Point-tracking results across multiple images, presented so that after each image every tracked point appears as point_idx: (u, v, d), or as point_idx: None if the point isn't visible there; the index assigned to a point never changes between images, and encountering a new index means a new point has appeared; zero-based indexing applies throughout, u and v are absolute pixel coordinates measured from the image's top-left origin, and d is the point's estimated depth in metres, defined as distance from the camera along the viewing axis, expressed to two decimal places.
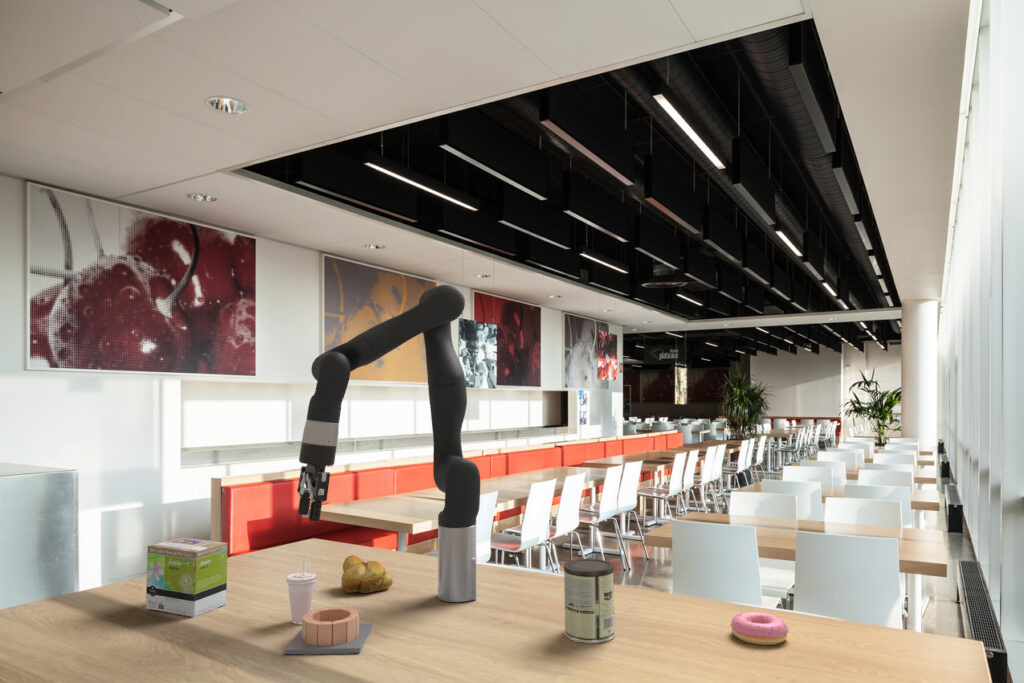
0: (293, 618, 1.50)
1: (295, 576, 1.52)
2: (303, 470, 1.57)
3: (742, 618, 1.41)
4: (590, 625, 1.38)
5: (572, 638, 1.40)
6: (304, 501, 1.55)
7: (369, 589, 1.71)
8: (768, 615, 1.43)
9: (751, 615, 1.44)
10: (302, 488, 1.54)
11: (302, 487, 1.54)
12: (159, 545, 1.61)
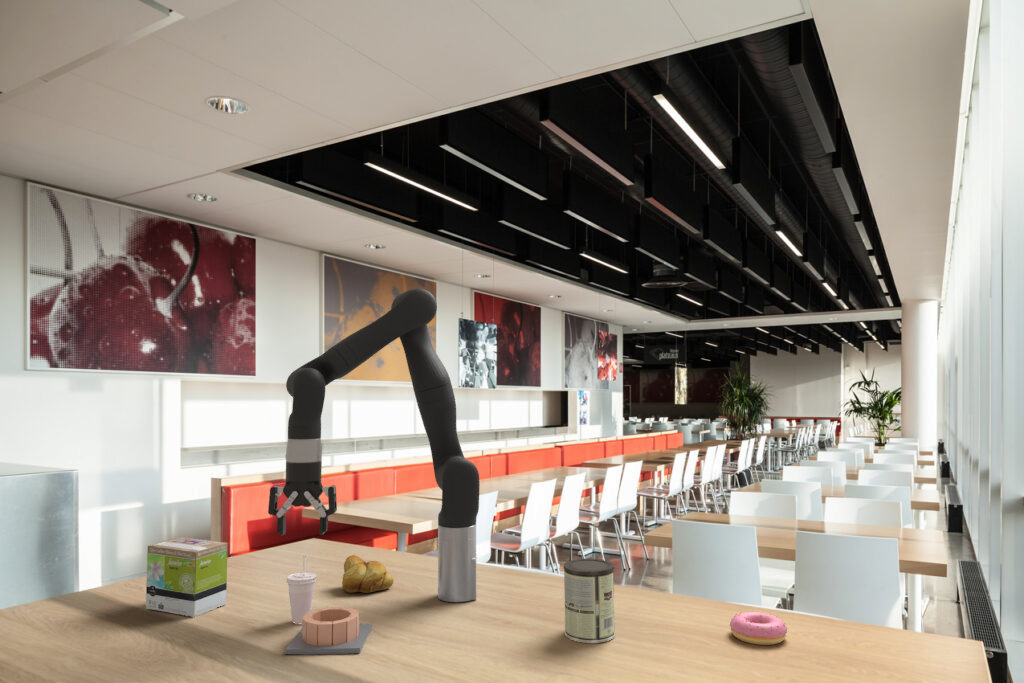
0: (293, 618, 1.50)
1: (295, 576, 1.52)
2: (275, 491, 1.52)
3: (741, 618, 1.42)
4: (590, 625, 1.38)
5: (572, 638, 1.40)
6: (284, 521, 1.53)
7: (369, 589, 1.71)
8: (767, 615, 1.43)
9: (750, 615, 1.44)
10: (287, 508, 1.52)
11: (288, 507, 1.52)
12: (159, 545, 1.61)
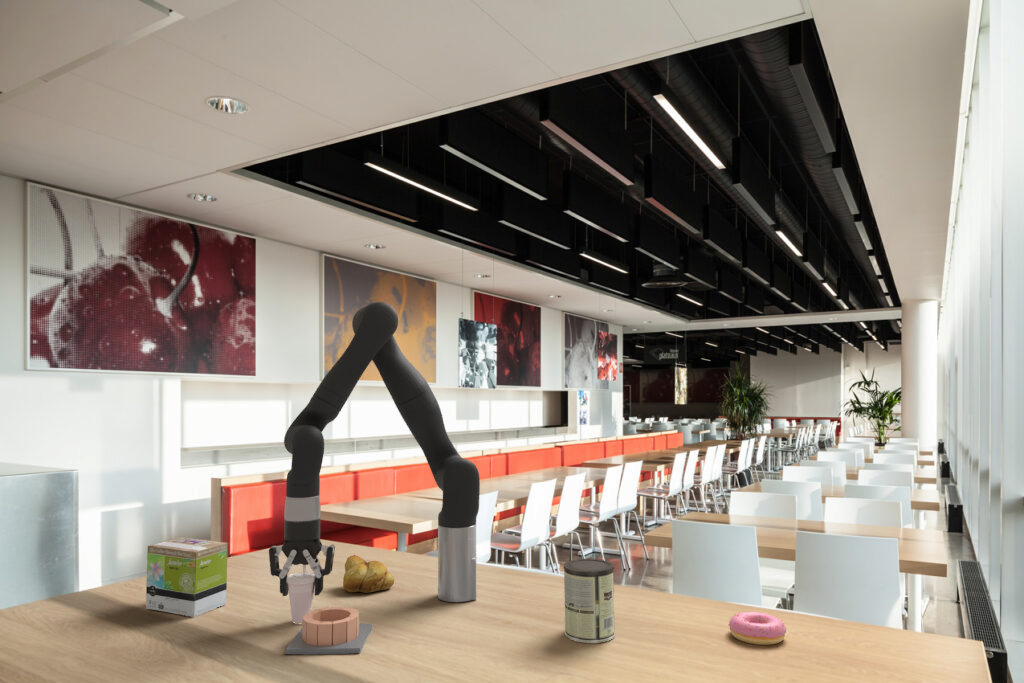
0: (293, 618, 1.50)
1: (295, 576, 1.52)
2: (274, 551, 1.51)
3: (740, 618, 1.42)
4: (590, 625, 1.38)
5: (572, 638, 1.40)
6: None
7: (370, 589, 1.72)
8: (766, 615, 1.43)
9: (749, 615, 1.44)
10: (289, 568, 1.51)
11: (289, 566, 1.51)
12: (159, 545, 1.61)
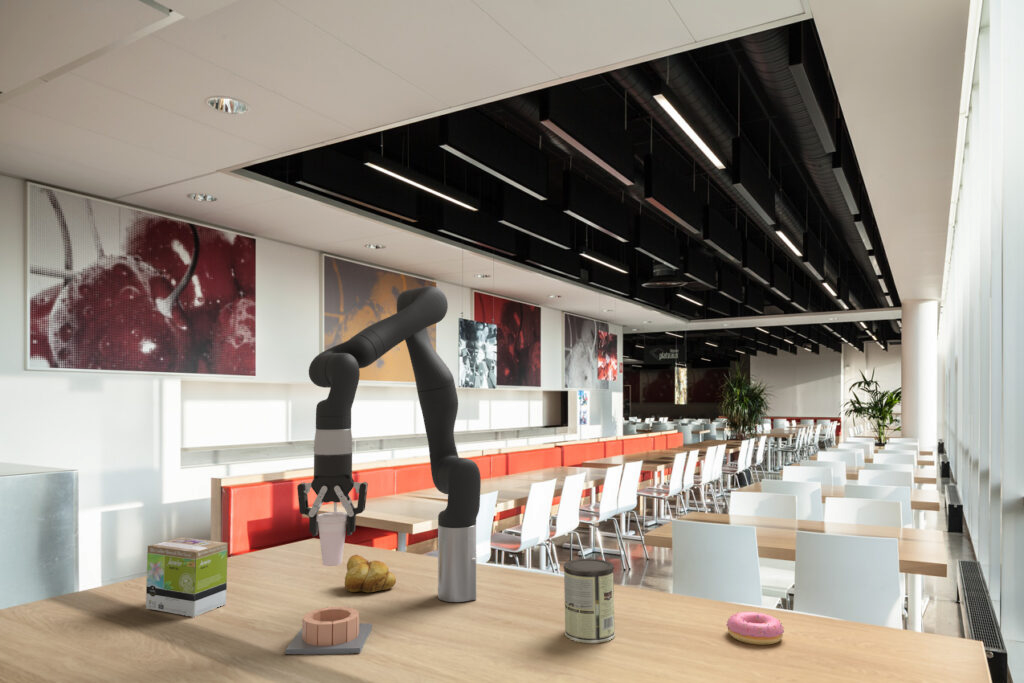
0: (324, 559, 1.40)
1: (325, 515, 1.41)
2: (303, 488, 1.41)
3: (738, 618, 1.42)
4: (590, 625, 1.38)
5: (572, 638, 1.40)
6: None
7: (371, 589, 1.72)
8: (764, 615, 1.43)
9: (747, 615, 1.44)
10: (319, 505, 1.40)
11: (319, 504, 1.40)
12: (159, 545, 1.61)
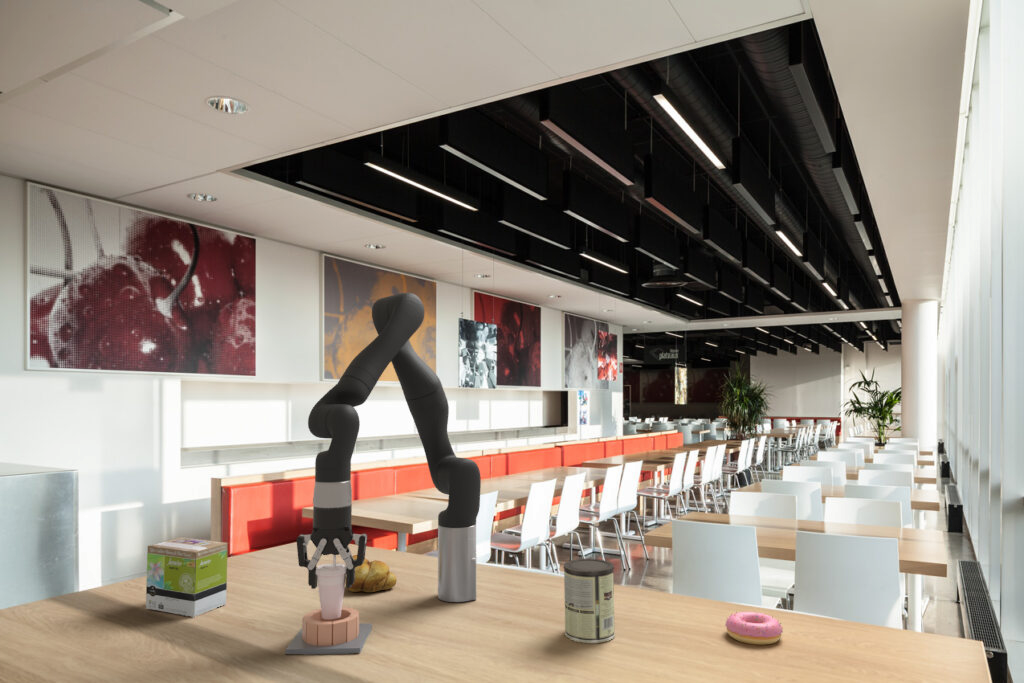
0: (323, 613, 1.39)
1: (325, 567, 1.41)
2: (302, 540, 1.40)
3: (737, 618, 1.42)
4: (590, 625, 1.38)
5: (572, 638, 1.40)
6: None
7: (372, 589, 1.72)
8: (763, 615, 1.44)
9: (746, 615, 1.44)
10: (318, 558, 1.40)
11: (319, 557, 1.40)
12: (159, 545, 1.61)
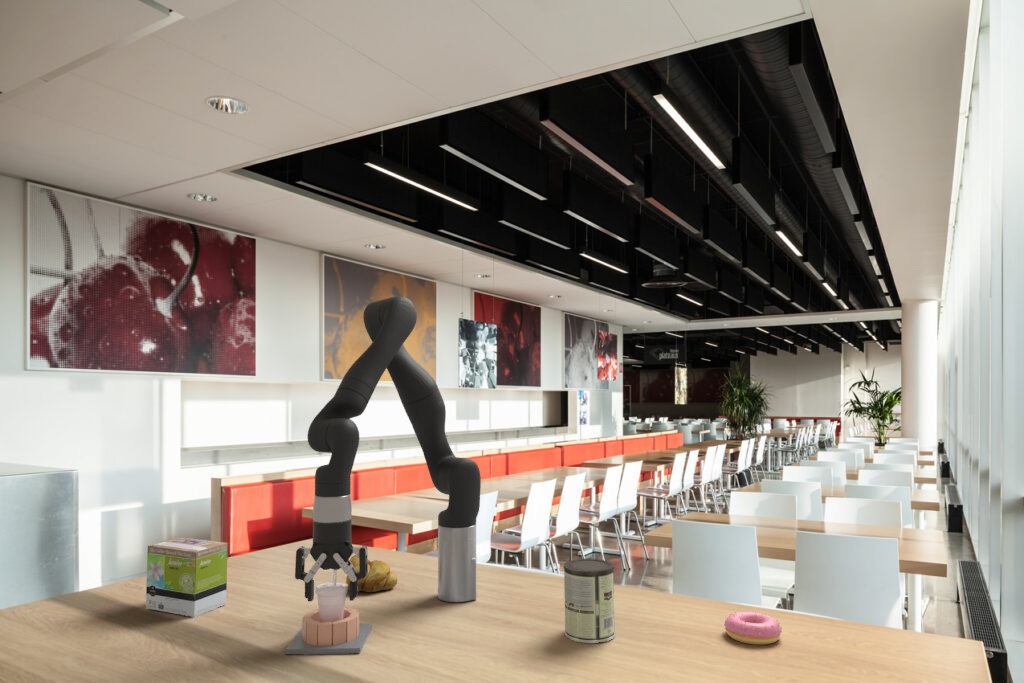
0: None
1: (325, 586, 1.40)
2: (302, 553, 1.40)
3: (736, 618, 1.42)
4: (590, 625, 1.38)
5: (572, 638, 1.40)
6: (312, 585, 1.40)
7: (372, 589, 1.72)
8: (762, 615, 1.44)
9: (745, 615, 1.44)
10: (315, 572, 1.40)
11: (316, 571, 1.39)
12: (159, 545, 1.61)
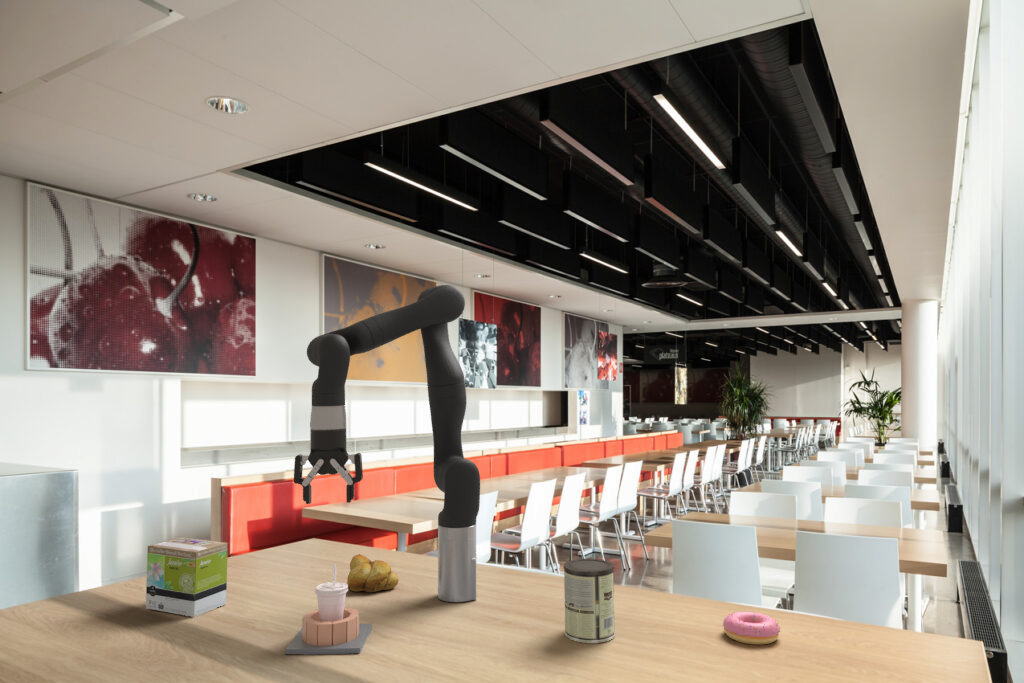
0: None
1: (325, 586, 1.40)
2: (300, 459, 1.50)
3: (734, 618, 1.42)
4: (590, 625, 1.38)
5: (572, 638, 1.40)
6: (310, 489, 1.50)
7: (373, 589, 1.72)
8: (760, 615, 1.44)
9: (743, 615, 1.44)
10: (313, 476, 1.49)
11: (314, 475, 1.49)
12: (159, 545, 1.61)
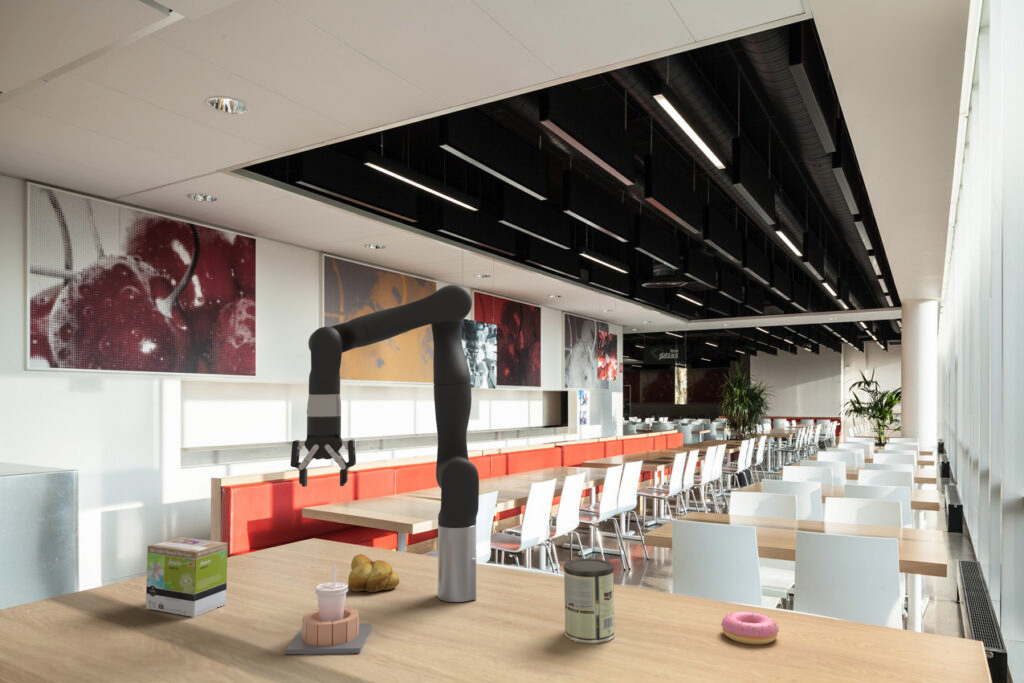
0: None
1: (325, 586, 1.40)
2: (297, 444, 1.59)
3: (732, 618, 1.42)
4: (590, 625, 1.38)
5: (572, 638, 1.40)
6: (305, 473, 1.59)
7: (374, 589, 1.72)
8: (759, 615, 1.44)
9: (742, 615, 1.44)
10: (309, 461, 1.58)
11: (309, 460, 1.58)
12: (159, 545, 1.61)
